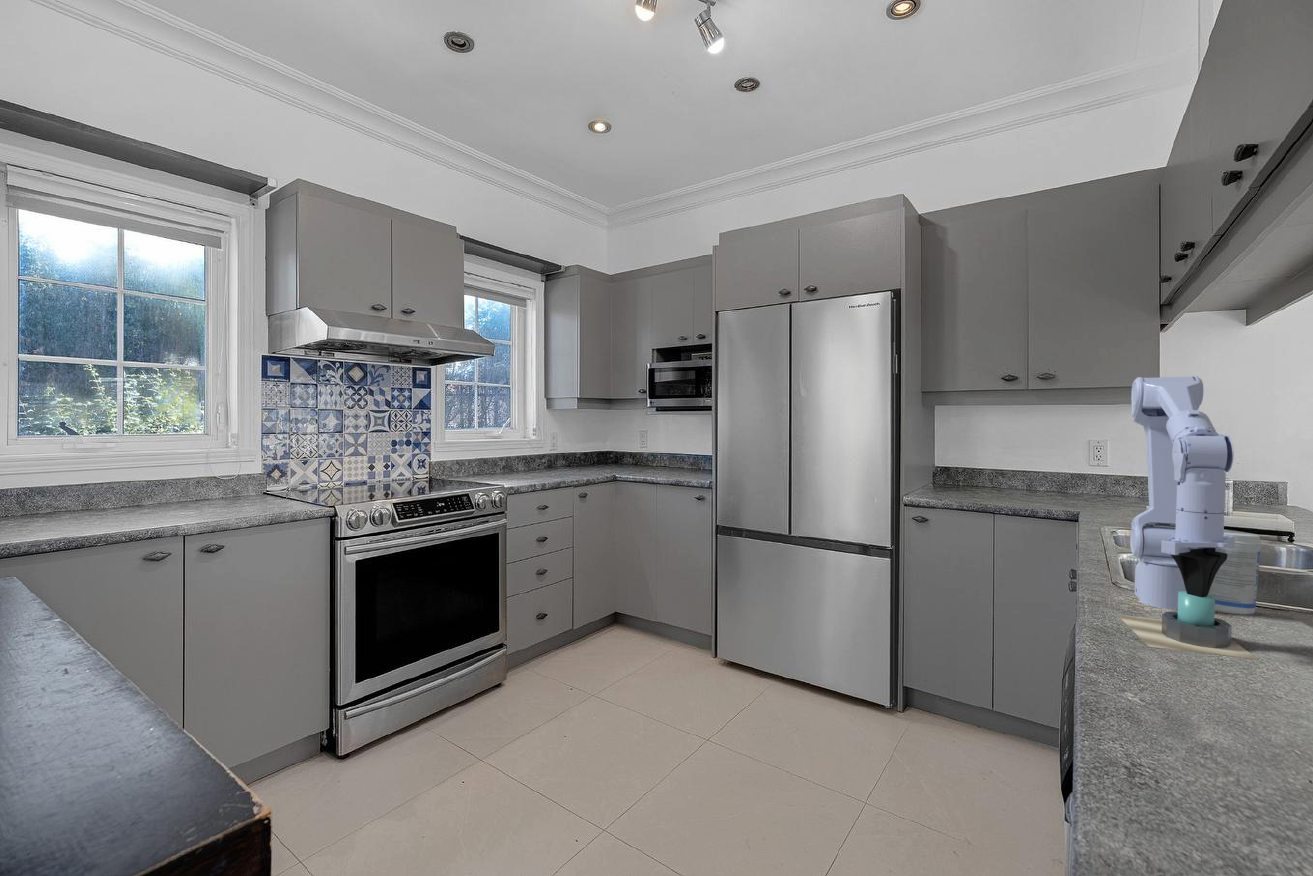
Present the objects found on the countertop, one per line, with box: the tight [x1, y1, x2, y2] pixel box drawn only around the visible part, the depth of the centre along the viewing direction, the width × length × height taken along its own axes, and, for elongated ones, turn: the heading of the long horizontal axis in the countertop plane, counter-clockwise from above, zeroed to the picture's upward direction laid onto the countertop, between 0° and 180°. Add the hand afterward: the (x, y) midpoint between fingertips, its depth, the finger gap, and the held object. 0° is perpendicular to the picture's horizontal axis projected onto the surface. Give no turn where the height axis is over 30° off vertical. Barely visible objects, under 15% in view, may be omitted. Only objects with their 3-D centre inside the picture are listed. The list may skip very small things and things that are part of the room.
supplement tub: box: [1208, 529, 1261, 615], centre depth 113 cm, size 10×10×15 cm
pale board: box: [1117, 614, 1260, 661], centre depth 98 cm, size 16×13×1 cm
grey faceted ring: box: [1161, 610, 1232, 648], centre depth 97 cm, size 8×8×3 cm
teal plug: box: [1177, 591, 1216, 626], centre depth 97 cm, size 4×4×7 cm
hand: (1196, 595), depth 97 cm, fingers closed, pressing on teal plug
